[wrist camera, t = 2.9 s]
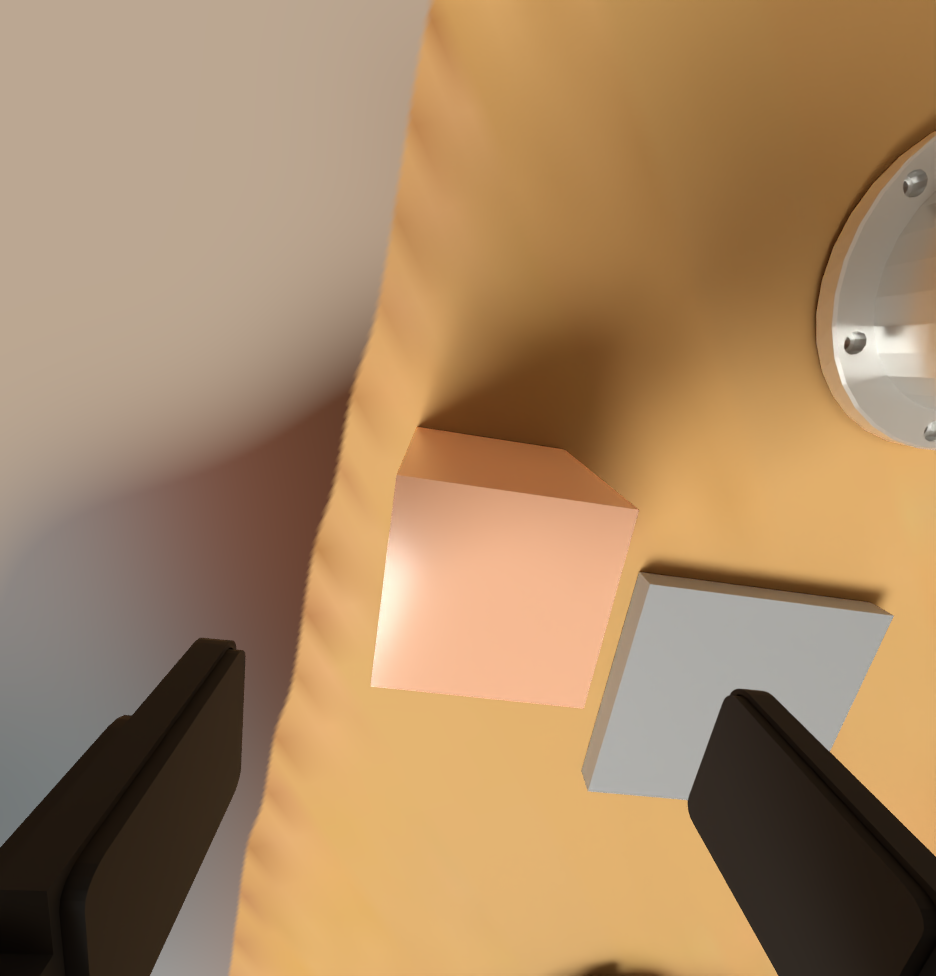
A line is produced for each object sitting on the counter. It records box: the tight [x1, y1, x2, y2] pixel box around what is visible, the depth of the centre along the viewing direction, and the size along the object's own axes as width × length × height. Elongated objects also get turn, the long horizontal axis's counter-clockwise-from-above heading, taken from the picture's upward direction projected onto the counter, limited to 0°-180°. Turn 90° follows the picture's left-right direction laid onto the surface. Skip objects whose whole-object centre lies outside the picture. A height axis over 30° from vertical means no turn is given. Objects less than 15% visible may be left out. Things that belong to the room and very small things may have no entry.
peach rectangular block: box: [371, 427, 639, 709], centre depth 16 cm, size 6×6×8 cm
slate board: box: [582, 572, 893, 800], centre depth 23 cm, size 12×12×1 cm
